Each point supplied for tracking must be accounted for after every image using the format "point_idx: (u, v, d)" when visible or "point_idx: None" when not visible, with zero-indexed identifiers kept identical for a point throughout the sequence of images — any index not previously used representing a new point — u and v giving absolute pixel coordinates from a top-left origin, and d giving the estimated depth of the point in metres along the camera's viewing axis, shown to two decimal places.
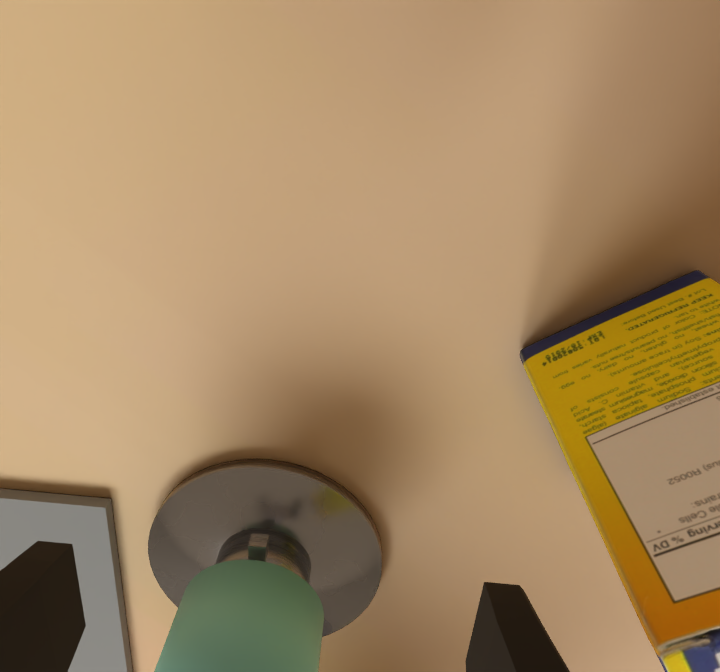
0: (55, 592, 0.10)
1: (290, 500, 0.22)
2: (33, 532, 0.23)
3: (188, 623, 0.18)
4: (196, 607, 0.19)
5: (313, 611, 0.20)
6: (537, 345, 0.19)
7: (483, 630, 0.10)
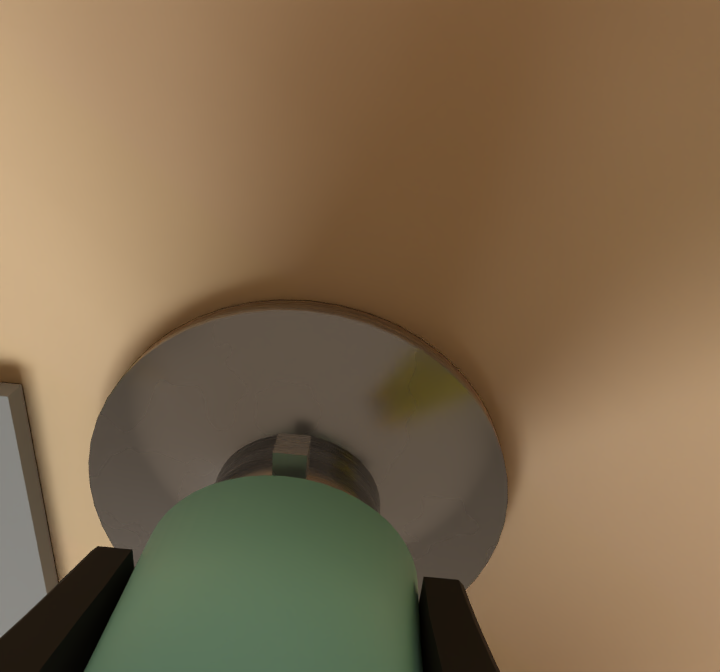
0: (118, 598, 0.10)
1: (349, 377, 0.12)
2: None
3: (145, 599, 0.08)
4: (164, 567, 0.09)
5: (407, 579, 0.10)
6: None
7: (421, 624, 0.10)
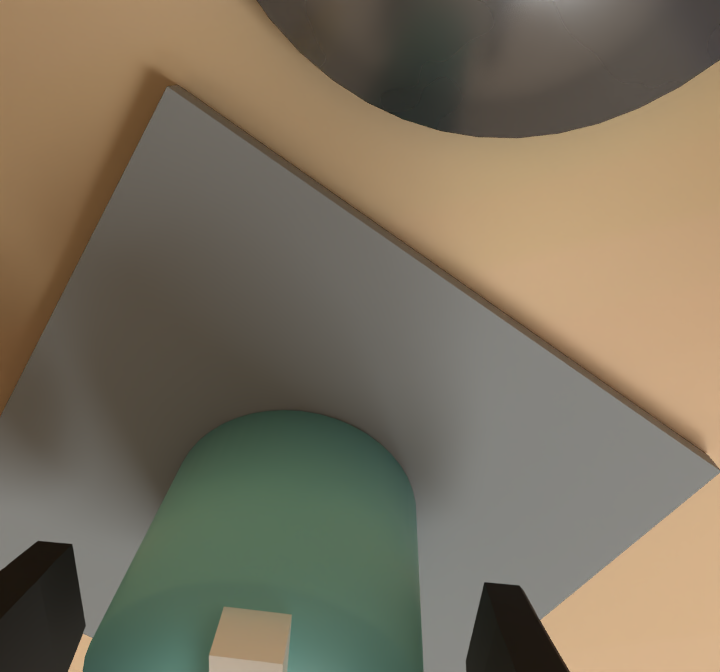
0: (55, 592, 0.10)
1: None
2: (172, 293, 0.10)
3: (184, 503, 0.09)
4: (200, 479, 0.10)
5: (407, 504, 0.11)
6: None
7: (483, 630, 0.10)
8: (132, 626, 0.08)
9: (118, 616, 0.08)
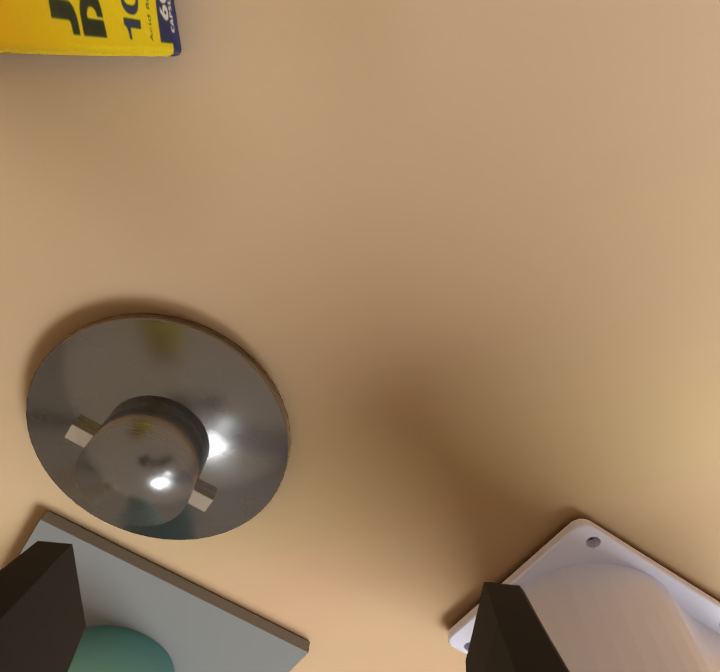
0: (55, 592, 0.10)
1: (82, 373, 0.20)
2: None
3: None
4: (74, 661, 0.23)
5: None
6: None
7: (483, 630, 0.10)
8: None
9: None
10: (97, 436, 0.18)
